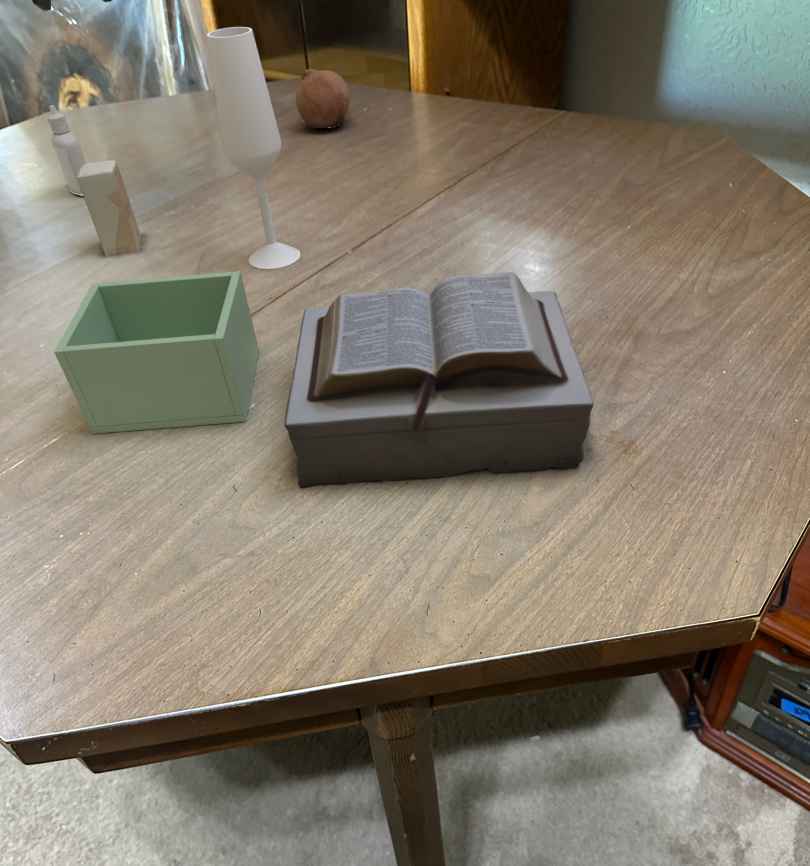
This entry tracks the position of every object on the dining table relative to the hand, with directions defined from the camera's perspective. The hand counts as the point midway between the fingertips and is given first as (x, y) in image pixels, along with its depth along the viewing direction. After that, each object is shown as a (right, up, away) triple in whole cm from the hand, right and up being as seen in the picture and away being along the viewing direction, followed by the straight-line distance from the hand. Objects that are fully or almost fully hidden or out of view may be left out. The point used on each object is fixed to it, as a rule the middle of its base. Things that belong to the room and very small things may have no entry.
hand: (71, 2), depth 80 cm
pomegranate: (+23, +13, +48) cm, 55 cm away
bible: (+40, -48, -14) cm, 64 cm away
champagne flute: (+21, -24, +12) cm, 34 cm away
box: (+1, -23, +15) cm, 27 cm away
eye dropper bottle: (-14, -5, +33) cm, 36 cm away
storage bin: (+15, -45, -9) cm, 48 cm away
